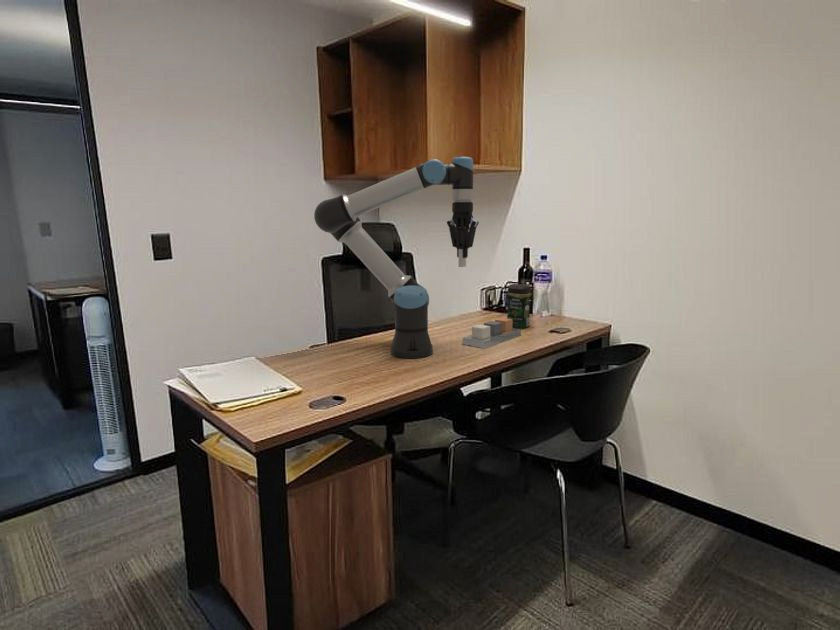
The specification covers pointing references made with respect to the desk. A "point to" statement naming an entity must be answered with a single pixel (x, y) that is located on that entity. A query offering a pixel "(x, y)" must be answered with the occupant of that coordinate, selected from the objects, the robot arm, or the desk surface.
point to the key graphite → (494, 327)
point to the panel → (491, 339)
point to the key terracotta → (505, 324)
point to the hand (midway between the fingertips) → (462, 266)
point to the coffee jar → (519, 305)
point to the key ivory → (481, 332)
